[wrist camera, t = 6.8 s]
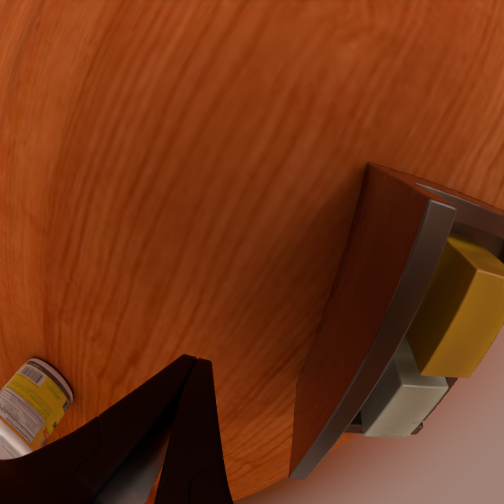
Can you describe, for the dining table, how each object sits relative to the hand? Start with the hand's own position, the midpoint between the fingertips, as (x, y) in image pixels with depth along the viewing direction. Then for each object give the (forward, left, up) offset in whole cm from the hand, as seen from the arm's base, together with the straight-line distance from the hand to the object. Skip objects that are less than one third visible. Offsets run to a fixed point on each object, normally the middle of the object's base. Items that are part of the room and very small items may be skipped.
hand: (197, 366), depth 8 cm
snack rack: (-8, 0, -6) cm, 10 cm away
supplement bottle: (+15, +15, -6) cm, 22 cm away
